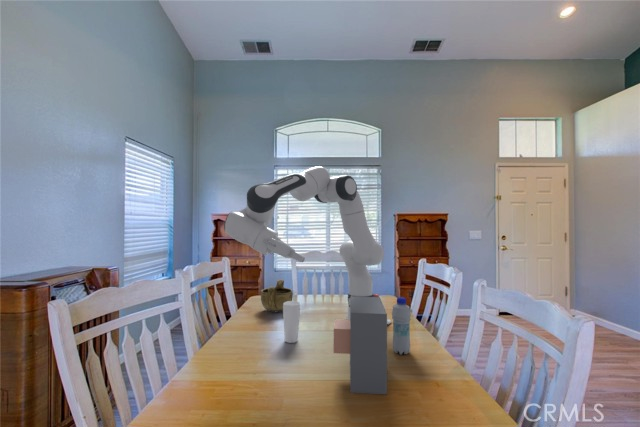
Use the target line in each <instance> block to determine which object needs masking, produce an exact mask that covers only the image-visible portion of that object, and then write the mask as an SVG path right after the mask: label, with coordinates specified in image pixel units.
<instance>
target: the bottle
mask: <svg viewBox="0 0 640 427" xmlns="http://www.w3.org/2000/svg"><path fill="white" fill-rule="evenodd" d="M410 307H411V306H409V305H407V299H406V298H405V297H403V296H400V297H397V298H396V304H394V305H393V306H392V312H391V316H392V320H393V321H392V350H393V351H394V353H395V354H398V353H399V355H400V356H401V355H403V354H404V355H405V354H406V355H408V354H409V353H410V351H411V339H410V335H411V334H410V333H411V330H410V329H411V328H410V327H411V326H410V322H411V317H412V316H411V308H410Z"/></svg>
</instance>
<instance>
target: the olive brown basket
mask: <svg viewBox="0 0 640 427" xmlns="http://www.w3.org/2000/svg"><path fill="white" fill-rule="evenodd" d="M284 284H285V280H284V279H282V278H281V279H278V278H277V281H276V286H268V288H263V289H261V293H260V301H261V304H262V306H263V308H264V309H265V310H266V311H268V312H269V313H270V312H271V313H281V312H283V303H284V302H288V301H293V298H294V296H293V289H291V288H288V287H287V288H286V287H285V286H284Z"/></svg>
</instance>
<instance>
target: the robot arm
mask: <svg viewBox="0 0 640 427" xmlns="http://www.w3.org/2000/svg"><path fill="white" fill-rule="evenodd" d="M288 194H290V196H292V198H294V199H295V200H297V201H300V202H306V201H308V200H311V199H312V198H314V199H315V200H316V201H317V202H318V203H321V204H327V203H331V204H332V203H337V204H338V206H339V207H338V208H339V213H340V219H341V222H342V229H343V231H344V232H345V234H347V236H348V237H349V239H350V240H347V241H344V242H342V243H341V245H340V248H339V256H340V257H341V259H342V260H343V261H344V265H345V268H346V271H347V278H348V293H347V303H348V304H347V305H348V306H347V312H346V314H347V315H346V319H345V320H350V296H358V297H380V294H377V293H373V287H374V286H373V280H374V279H373V276H372V274H371V273H370V272H369V270H368V268H367V267H369V266H377V265H379V264H381V262H382V261H383V260H384V257H385V251H384V248H383V246H382V245H381V244H380V243H378V242H377V240H376V239H375V237H374V236H373V233H372V232H371V230H370V228H369V225H368V222H367V217H366V213H365V209H364V205H363V201H362V198H361V196H360V193H359V191H358V185H357V182H356V180H355V179H354V178H353V177H352V176H350V175H347V174H342V175H338V176H337V175H336V176H331V175H330V173H329V171H328V170H327V169H326V168H325V167H323V166H320V165H319V166H314V167H310V168H309V169H306V170H304V171H302V172H300V173H298V172H294V173H290V174H287V175H285V176H283V177H280V178H278V179H274V180H272V181H269V182H265V183H258V184H255V185H253V186H251V187H250V188H249V189H248V191H247V192H246V206H245V207H244V208H243V209H241V210H238V211H230V212H229V213H228V214H227V216H226V218H225V221H224V225H223V230H224V233H225V234H226V235H228V236H229V237H231V238H232V239H233V240H235V241H237V242H238V243H239V242H240V243H241V244H243V245H247V246H249V247H250V248H251V249H253V250H254V251H256V252H258V253H260V254H262V255H264V256H266V255H268V254H269V255H274V254H277V255H278V256H281V257H283V258H285V259H293V260H295V261H298V262H299V263H303V262H304V261H305V257H304V256H302V255H301V254H299V253H297V252H296V250H295V249H294V248H293V247H291V245H289V244H287V243H285V241H283V240H282V238H281V237H279V232H278V231H276V230H274V229H272V228H270V227H269V226H270V225H271V223H272V220H273V216H274V212H275V208H276V205H277V203H278V200H280V198H281V197H283V196H286V195H288ZM387 324H388V325H390V324H392V320H391V319H390V318H388V317H387Z"/></svg>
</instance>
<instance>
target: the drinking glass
mask: <svg viewBox="0 0 640 427" xmlns="http://www.w3.org/2000/svg"><path fill="white" fill-rule="evenodd" d="M300 316H301V304H300V301H299V302H298V301H297V300H296V301H295V300H292V301H288V302H284V303H283V311H282V318H283V331H284V337H283V338H284V342H286V343H288V344H294V343H297V342H298V340H299V329H300V328H299V326H300Z"/></svg>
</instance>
